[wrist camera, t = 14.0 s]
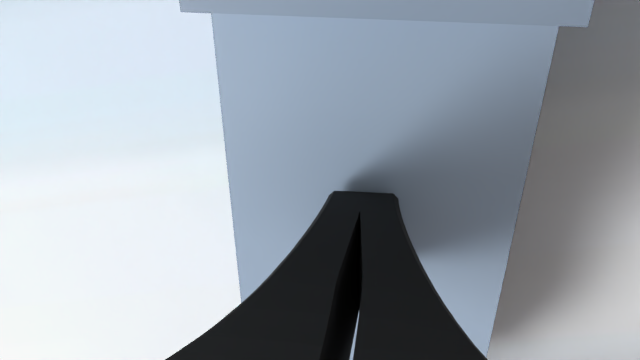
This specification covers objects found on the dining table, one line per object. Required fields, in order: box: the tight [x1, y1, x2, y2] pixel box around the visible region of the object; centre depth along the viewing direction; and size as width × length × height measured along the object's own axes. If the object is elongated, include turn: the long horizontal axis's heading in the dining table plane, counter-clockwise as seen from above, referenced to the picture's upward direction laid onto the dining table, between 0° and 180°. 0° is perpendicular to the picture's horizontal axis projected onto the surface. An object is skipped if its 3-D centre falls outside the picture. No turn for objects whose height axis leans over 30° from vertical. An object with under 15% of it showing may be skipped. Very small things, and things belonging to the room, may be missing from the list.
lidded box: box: [179, 0, 595, 360], centre depth 13 cm, size 16×6×2 cm, turn 0°
